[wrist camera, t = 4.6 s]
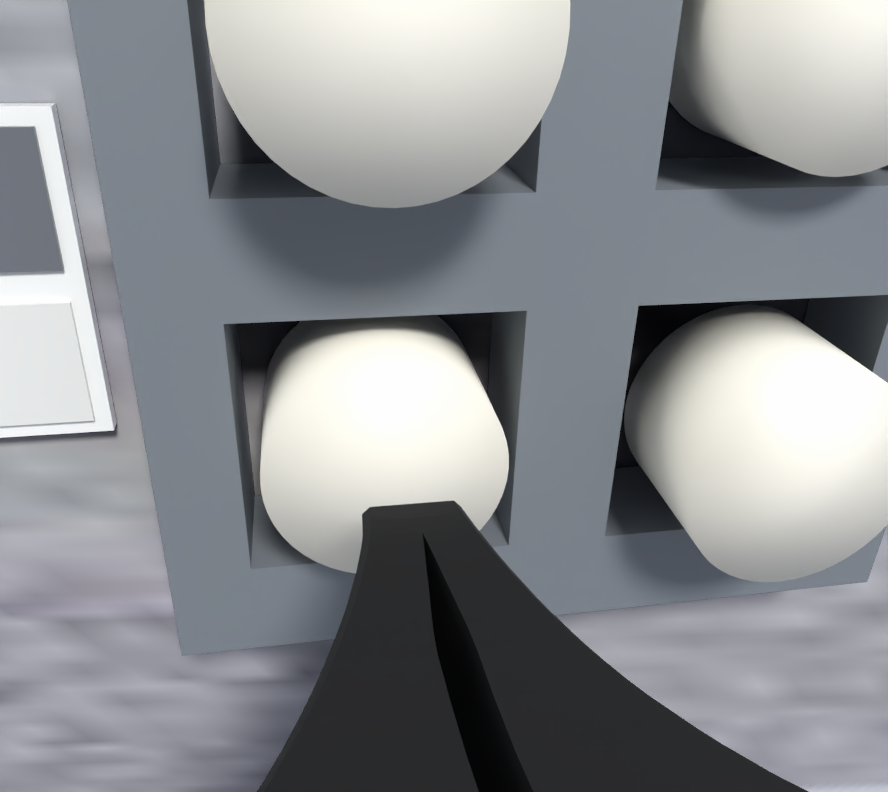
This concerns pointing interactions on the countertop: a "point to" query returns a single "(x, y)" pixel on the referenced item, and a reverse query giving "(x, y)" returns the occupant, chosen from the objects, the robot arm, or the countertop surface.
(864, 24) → the button
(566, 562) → the board
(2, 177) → the tile
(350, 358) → the button
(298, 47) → the button
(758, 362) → the button
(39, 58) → the countertop surface
